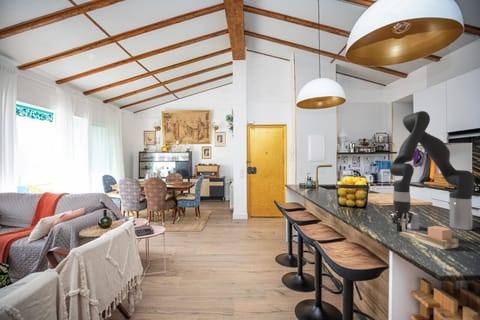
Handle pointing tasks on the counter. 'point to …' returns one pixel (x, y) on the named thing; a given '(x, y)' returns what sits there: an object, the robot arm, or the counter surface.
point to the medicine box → (414, 222)
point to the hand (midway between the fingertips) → (402, 231)
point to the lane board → (431, 240)
